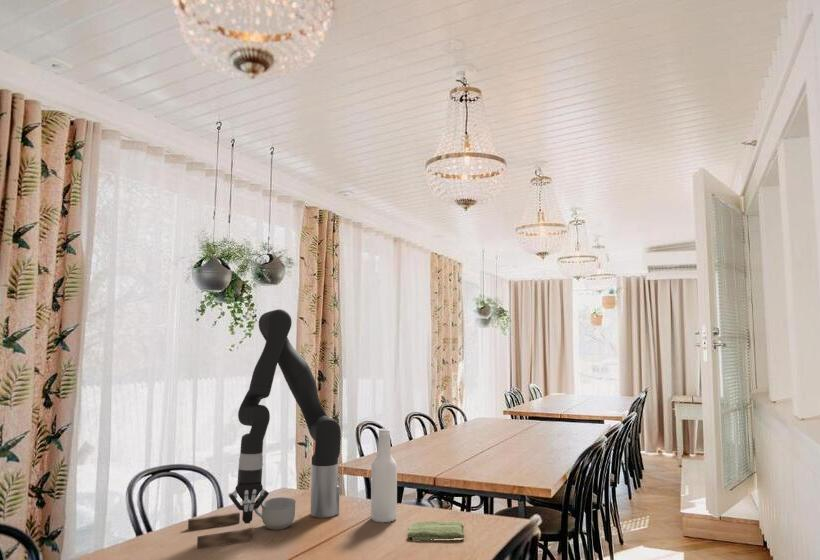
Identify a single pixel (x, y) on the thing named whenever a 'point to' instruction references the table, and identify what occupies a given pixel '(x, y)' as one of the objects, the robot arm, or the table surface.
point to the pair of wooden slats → (219, 537)
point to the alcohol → (384, 481)
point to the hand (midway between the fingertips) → (246, 522)
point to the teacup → (277, 512)
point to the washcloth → (436, 530)
